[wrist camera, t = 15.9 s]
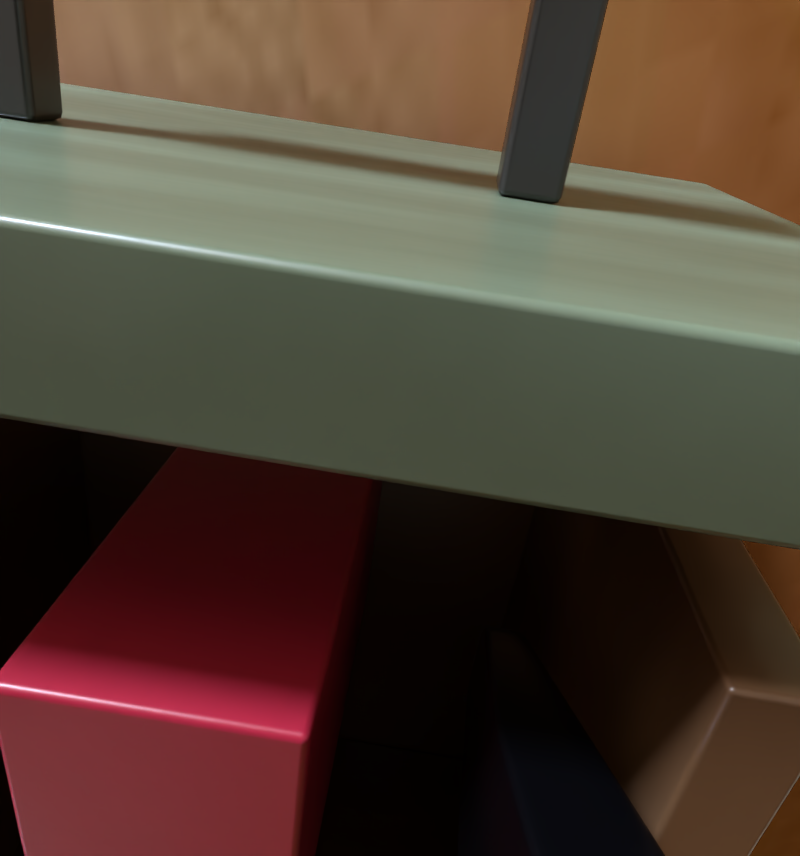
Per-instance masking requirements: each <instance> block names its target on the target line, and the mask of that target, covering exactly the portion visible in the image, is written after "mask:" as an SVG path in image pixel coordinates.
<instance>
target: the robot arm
mask: <svg viewBox="0 0 800 856" xmlns="http://www.w3.org/2000/svg"><path fill="white" fill-rule="evenodd" d="M458 856H665V854H664V853H663V851H662V850H661V848H660V846H659V845H658V843H657V842H656V840H655V839H654V837H653V835H652V834H651V832H650V831H649V829H648V828H647V826H646V825H645V823H644V821H643V820H642V818H641V817H640V815H639V814H638V812H637V810H636V809H635V807H634V806H633V804H632V803H631V801H630V800H629V798H628V796H627V795H626V793H625V792H624V790H623V789H622V787H621V785H620V784H619V782H618V781H617V779H616V778H615V776H614V774H613V773H612V771H611V770H610V768H609V767H608V765H607V764H606V762H605V760H604V759H603V757H602V756H601V754H600V753H599V751H598V749H597V748H596V746H595V745H594V743H593V742H592V740H591V739H590V737H589V735H588V734H587V732H586V731H585V729H584V728H583V726H582V724H581V723H580V721H579V720H578V718H577V717H576V715H575V714H574V712H573V710H572V709H571V707H570V706H569V704H568V703H567V701H566V699H565V698H564V696H563V695H562V693H561V692H560V690H559V689H558V687H557V685H556V684H555V682H554V681H553V679H552V678H551V676H550V674H549V673H548V671H547V670H546V668H545V667H544V665H543V664H542V662H541V660H540V659H539V657H538V656H537V654H536V653H535V651H534V649H533V648H532V646H531V645H530V643H529V642H528V640H527V639H526V637H525V636H524V635H523V634H522V633H520V632H518V631H513V630H507V629H501V628H495V627H487V628H485V629H484V630H483V632H482V634H481V637H480V641H479V645H478V649H477V653H476V657H475V661H474V664H473V668H472V672H471V676H470V680H469V685H468V691H467V700H466V715H465V731H464V746H463V762H462V778H461V793H460V809H459V829H458Z"/></svg>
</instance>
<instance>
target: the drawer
mask: <svg viewBox="0 0 800 856" xmlns="http://www.w3.org/2000/svg"><path fill="white" fill-rule="evenodd" d="M607 4H608V0H531V3H530V8H529V13H528V18H527V24H526V29H525V34H524V39H523V44H522V50H521V55H520V60H519V65H518V70H517V76H516V81H515V86H514V91H513V96H512V102H511V107H510V112H509V117H508V122H507V128H506V133H505V138H504V143H503V148H502V152H499V151H492V150H486V149H480V148H473V147H467V146H460V145H454V144H448V143H441V142H435V141H428V140H422V139H415V138H409V137H403V136H396V135H390V134H383V133H377V132H371V131H364V130H358V129H351V128H345V127H339V126H332V125H326V124H319V123H313V122H307V121H300V120H294V119H287V118H281V117H275V116H268V115H262V114H255V113H249V112H243V111H236V110H230V109H223V108H217V107H211V106H204V105H198V104H191V103H185V102H179V101H172V100H166V99H159V98H153V97H147V96H140V95H134V94H127V93H121V92H115V91H108V90H102V89H95V88H89V87H83V86H76V85H70V84H63V83H60V75H59V63H58V51H57V39H56V28H55V16H54V4H53V0H0V670H1V668H2V667H3V666H4V665H5V663H6V662H7V661H8V660H9V658H10V657H11V656H12V655H13V653H14V652H15V651H16V650H17V648H18V647H19V646H20V644H21V643H22V642H23V641H24V639H25V638H26V637H27V636H28V634H29V633H30V632H31V631H32V629H33V628H34V627H35V626H36V624H37V623H38V622H39V621H40V619H41V618H42V617H43V616H44V614H45V613H46V612H47V611H48V609H49V608H50V607H51V605H52V604H53V603H54V602H55V600H56V599H57V598H58V597H59V595H60V594H61V593H62V592H63V590H64V589H65V588H66V587H67V585H68V584H69V583H70V582H71V580H72V579H73V578H74V577H75V575H76V574H77V573H78V572H79V570H80V569H81V568H82V566H83V565H84V564H85V563H86V561H87V560H88V559H89V558H90V556H91V555H92V554H93V553H94V551H95V550H96V549H97V548H98V546H99V545H100V544H101V543H102V541H103V540H104V539H105V538H106V536H107V535H108V534H109V533H110V531H111V530H112V529H113V527H114V526H115V525H116V524H117V522H118V521H119V520H120V519H121V517H122V516H123V515H124V514H125V512H126V511H127V510H128V509H129V507H130V506H131V505H132V504H133V502H134V501H135V500H136V499H137V497H138V496H139V495H140V494H141V492H142V491H143V490H144V489H145V487H146V486H147V485H148V483H149V482H150V481H151V480H152V478H153V477H154V476H155V475H156V473H157V472H158V471H159V470H160V468H161V467H162V466H163V465H164V463H165V462H166V461H167V460H168V458H169V457H170V456H171V455H172V453H173V452H174V451H175V450H176V448H177V447H181V448H187V449H193V450H199V451H205V452H211V453H217V454H223V455H229V456H235V457H241V458H247V459H253V460H259V461H265V462H271V463H278V464H284V465H290V466H296V467H302V468H308V469H314V470H320V471H326V472H332V473H338V474H344V475H350V476H356V477H362V478H368V479H374V480H381V481H382V488H381V496H380V503H379V511H378V518H377V525H376V533H375V540H374V547H373V555H372V562H371V570H370V577H369V584H368V591H367V596H366V601H365V606H364V611H363V616H362V621H361V626H360V631H359V636H358V641H357V646H356V651H355V656H354V661H353V666H352V671H351V676H350V681H349V687H348V692H347V697H346V702H345V707H344V712H343V717H342V722H341V727H340V732H339V737H338V742H337V747H336V752H335V757H334V762H333V767H332V772H331V777H330V782H329V787H328V793H327V798H326V803H325V808H324V813H323V818H322V823H321V828H320V833H319V838H318V843H317V848H316V853H315V856H458V829H459V809H460V793H461V778H462V762H463V746H464V731H465V715H466V700H467V691H468V685H469V680H470V676H471V672H472V668H473V664H474V661H475V657H476V653H477V649H478V645H479V641H480V637H481V634H482V632H483V630H484V629H485V628H487V627H495V628H501V629H507V630H513V631H518V632H520V633H522V634H523V635H524V636H525V637H526V639H527V640H528V642H529V643H530V645H531V646H532V648H533V649H534V651H535V653H536V654H537V656H538V657H539V659H540V660H541V662H542V664H543V665H544V667H545V668H546V670H547V671H548V673H549V674H550V676H551V678H552V679H553V681H554V682H555V684H556V685H557V687H558V689H559V690H560V692H561V693H562V695H563V696H564V698H565V699H566V701H567V703H568V704H569V706H570V707H571V709H572V710H573V712H574V714H575V715H576V717H577V718H578V720H579V721H580V723H581V724H582V726H583V728H584V729H585V731H586V732H587V734H588V735H589V737H590V739H591V740H592V742H593V743H594V745H595V746H596V748H597V749H598V751H599V753H600V754H601V756H602V757H603V759H604V760H605V762H606V764H607V765H608V767H609V768H610V770H611V771H612V773H613V774H614V776H615V778H616V779H617V781H618V782H619V784H620V785H621V787H622V789H623V790H624V792H625V793H626V795H627V796H628V798H629V800H630V801H631V803H632V804H633V806H634V807H635V809H636V810H637V812H638V814H639V815H640V817H641V818H642V820H643V821H644V823H645V825H646V826H647V828H648V829H649V831H650V832H651V834H652V835H653V837H654V839H655V840H656V842H657V843H658V845H659V846H660V848H661V850H662V851H663V853H664V854H665V856H749V855H750V854H751V852H752V851H753V849H754V847H755V846H756V844H757V843H758V841H759V840H760V838H761V836H762V835H763V833H764V832H765V830H766V829H767V827H768V825H769V824H770V822H771V821H772V819H773V817H774V816H775V814H776V813H777V811H778V810H779V808H780V806H781V805H782V803H783V802H784V800H785V799H786V797H787V795H788V794H789V792H790V791H791V789H792V787H793V786H794V784H795V783H796V781H797V780H798V778H799V776H800V638H799V636H798V635H797V633H796V631H795V630H794V628H793V626H792V624H791V623H790V621H789V619H788V618H787V616H786V614H785V613H784V611H783V609H782V608H781V606H780V604H779V603H778V601H777V599H776V598H775V596H774V594H773V593H772V591H771V589H770V587H769V586H768V584H767V582H766V581H765V579H764V577H763V576H762V574H761V572H760V571H759V569H758V567H757V566H756V564H755V562H754V561H753V559H752V557H751V555H750V554H749V552H748V550H747V549H746V547H745V545H744V544H743V542H742V540H744V541H750V542H756V543H762V544H768V545H775V546H781V547H787V548H793V549H799V550H800V225H797V224H795V223H793V222H791V221H788V220H786V219H784V218H781V217H779V216H777V215H775V214H772V213H770V212H768V211H765V210H763V209H761V208H758V207H756V206H754V205H752V204H749V203H747V202H745V201H742V200H740V199H738V198H736V197H733V196H731V195H729V194H726V193H724V192H722V191H720V190H717V189H715V188H713V187H710V186H708V185H706V184H703V183H697V182H691V181H684V180H678V179H672V178H665V177H659V176H652V175H646V174H640V173H633V172H627V171H620V170H614V169H608V168H601V167H595V166H588V165H582V164H576V163H570V160H571V156H572V152H573V148H574V143H575V139H576V135H577V131H578V127H579V122H580V118H581V114H582V110H583V106H584V101H585V97H586V93H587V89H588V84H589V80H590V76H591V72H592V68H593V63H594V59H595V55H596V51H597V47H598V42H599V38H600V34H601V30H602V25H603V21H604V17H605V13H606V9H607ZM0 856H24V852H23V848H22V843H21V839H20V834H19V829H18V825H17V820H16V816H15V811H14V806H13V802H12V797H11V793H10V788H9V784H8V779H7V774H6V770H5V765H4V761H3V756H2V751H1V747H0Z"/></svg>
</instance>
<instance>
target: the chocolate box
mask: <svg viewBox="0 0 800 856" xmlns="http://www.w3.org/2000/svg"><path fill="white" fill-rule="evenodd" d="M381 488H382V481H381V480H374V479H368V478H362V477H356V476H350V475H344V474H338V473H332V472H326V471H320V470H314V469H308V468H302V467H296V466H290V465H284V464H278V463H271V462H265V461H259V460H253V459H247V458H241V457H235V456H229V455H223V454H217V453H211V452H205V451H199V450H193V449H187V448H181V447H177V448H176V450H175V451H174V452H173V453H172V455H171V456H170V457H169V458H168V460H167V461H166V462H165V463H164V465H163V466H162V467H161V468H160V470H159V471H158V472H157V473H156V475H155V476H154V477H153V478H152V480H151V481H150V482H149V483H148V485H147V486H146V487H145V489H144V490H143V491H142V492H141V494H140V495H139V496H138V497H137V499H136V500H135V501H134V502H133V504H132V505H131V506H130V507H129V509H128V510H127V511H126V512H125V514H124V515H123V516H122V517H121V519H120V520H119V521H118V522H117V524H116V525H115V526H114V527H113V529H112V530H111V531H110V533H109V534H108V535H107V536H106V538H105V539H104V540H103V541H102V543H101V544H100V545H99V546H98V548H97V549H96V550H95V551H94V553H93V554H92V555H91V556H90V558H89V559H88V560H87V561H86V563H85V564H84V565H83V566H82V568H81V569H80V570H79V572H78V573H77V574H76V575H75V577H74V578H73V579H72V580H71V582H70V583H69V584H68V585H67V587H66V588H65V589H64V590H63V592H62V593H61V594H60V595H59V597H58V598H57V599H56V600H55V602H54V603H53V604H52V605H51V607H50V608H49V609H48V611H47V612H46V613H45V614H44V616H43V617H42V618H41V619H40V621H39V622H38V623H37V624H36V626H35V627H34V628H33V629H32V631H31V632H30V633H29V634H28V636H27V637H26V638H25V639H24V641H23V642H22V643H21V644H20V646H19V647H18V648H17V650H16V651H15V652H14V653H13V655H12V656H11V657H10V658H9V660H8V661H7V662H6V663H5V665H4V666H3V667H2V668H1V670H0V747H1V751H2V756H3V761H4V765H5V770H6V774H7V779H8V784H9V788H10V793H11V797H12V802H13V806H14V811H15V816H16V820H17V825H18V829H19V834H20V839H21V843H22V848H23V852H24V856H315V853H316V848H317V843H318V838H319V833H320V828H321V823H322V818H323V813H324V808H325V803H326V798H327V793H328V787H329V782H330V777H331V772H332V767H333V762H334V757H335V752H336V747H337V742H338V737H339V732H340V727H341V722H342V717H343V712H344V707H345V702H346V697H347V692H348V687H349V681H350V676H351V671H352V666H353V661H354V656H355V651H356V646H357V641H358V636H359V631H360V626H361V621H362V616H363V611H364V606H365V601H366V596H367V591H368V584H369V577H370V570H371V562H372V555H373V547H374V540H375V533H376V525H377V518H378V511H379V503H380V496H381Z"/></svg>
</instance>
